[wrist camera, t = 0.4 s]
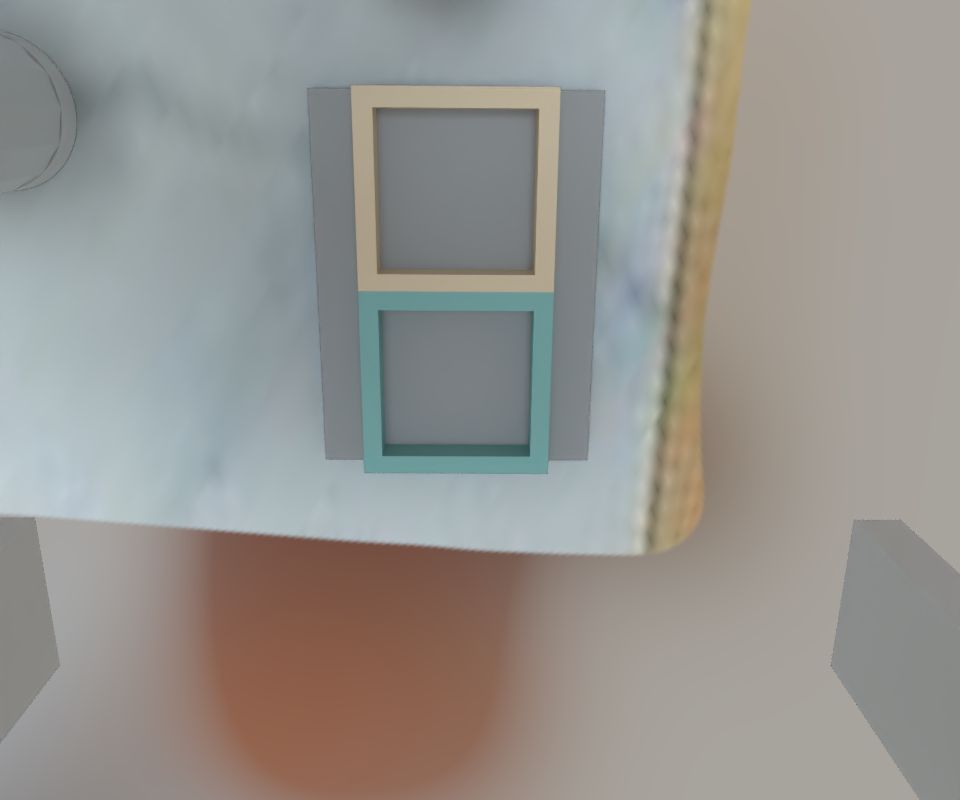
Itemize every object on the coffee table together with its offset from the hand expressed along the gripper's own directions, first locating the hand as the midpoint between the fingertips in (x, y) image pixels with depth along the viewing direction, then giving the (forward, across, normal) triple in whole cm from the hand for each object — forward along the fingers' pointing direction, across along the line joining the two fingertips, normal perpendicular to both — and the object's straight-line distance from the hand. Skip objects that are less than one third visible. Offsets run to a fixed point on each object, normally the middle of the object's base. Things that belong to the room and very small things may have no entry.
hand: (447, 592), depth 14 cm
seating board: (+25, 0, +1) cm, 25 cm away
